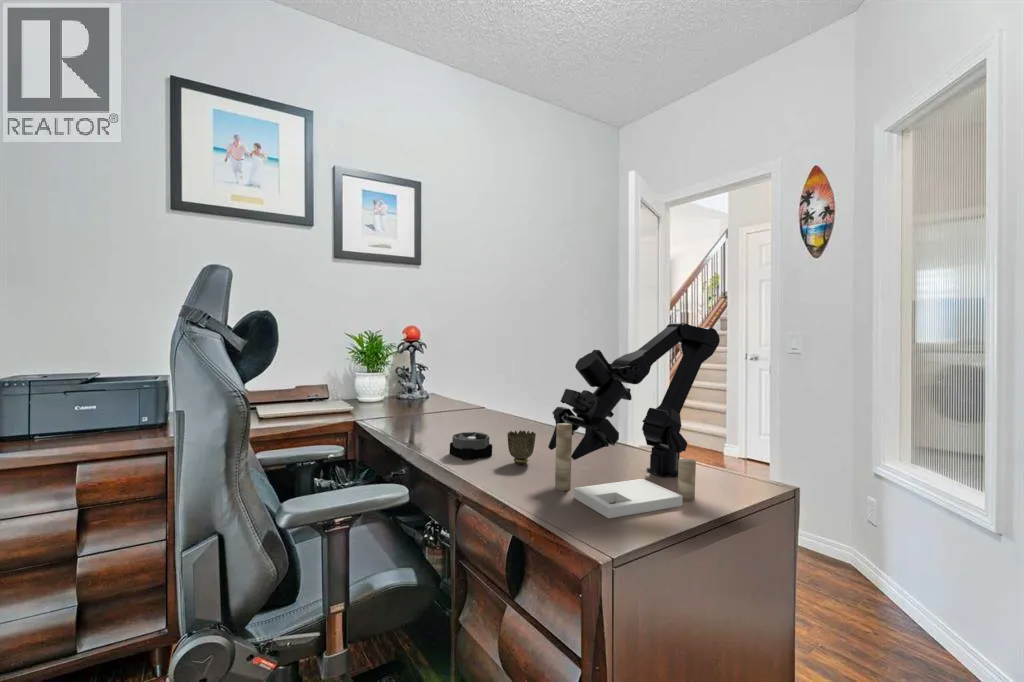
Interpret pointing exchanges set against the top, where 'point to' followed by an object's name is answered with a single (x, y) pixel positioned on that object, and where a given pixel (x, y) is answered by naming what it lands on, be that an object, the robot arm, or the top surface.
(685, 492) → the short pin
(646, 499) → the hole plate
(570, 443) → the long pin
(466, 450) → the cpu cooler
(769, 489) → the top surface
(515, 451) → the cup
